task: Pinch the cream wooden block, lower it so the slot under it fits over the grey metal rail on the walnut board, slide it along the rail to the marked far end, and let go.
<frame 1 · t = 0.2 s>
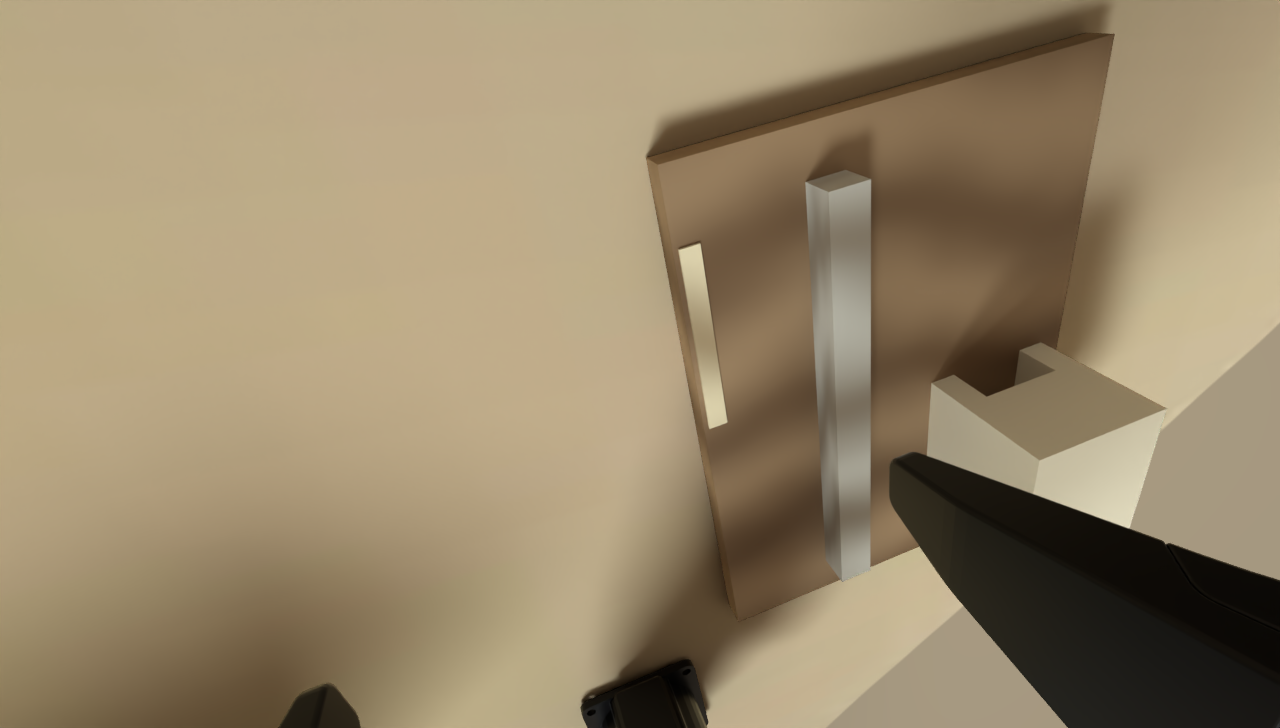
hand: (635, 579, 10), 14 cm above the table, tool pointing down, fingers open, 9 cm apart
notched block: (979, 428, 32), point 1 cm above the table, touching cleat board
cleat board: (877, 366, 29), on the table
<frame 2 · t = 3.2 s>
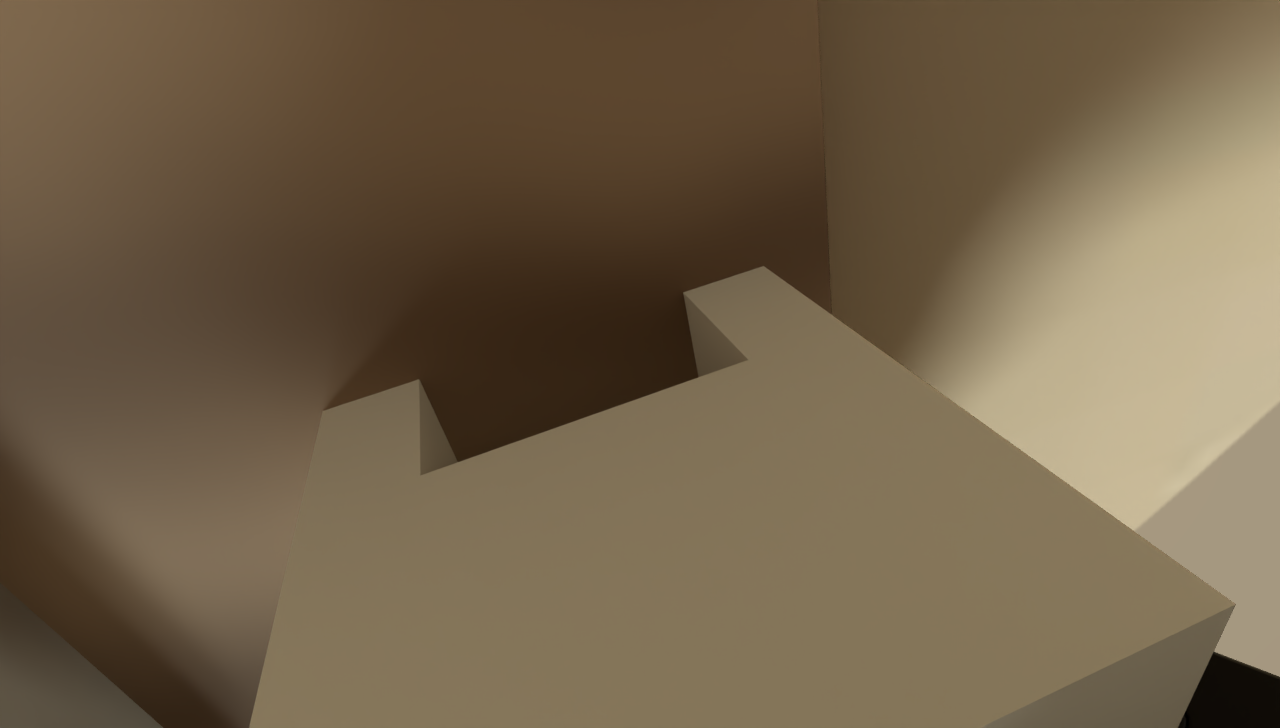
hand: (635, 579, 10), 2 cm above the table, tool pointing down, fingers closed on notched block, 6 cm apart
notched block: (621, 542, 10), point 1 cm above the table, touching cleat board, gripper
cleat board: (137, 351, 8), on the table
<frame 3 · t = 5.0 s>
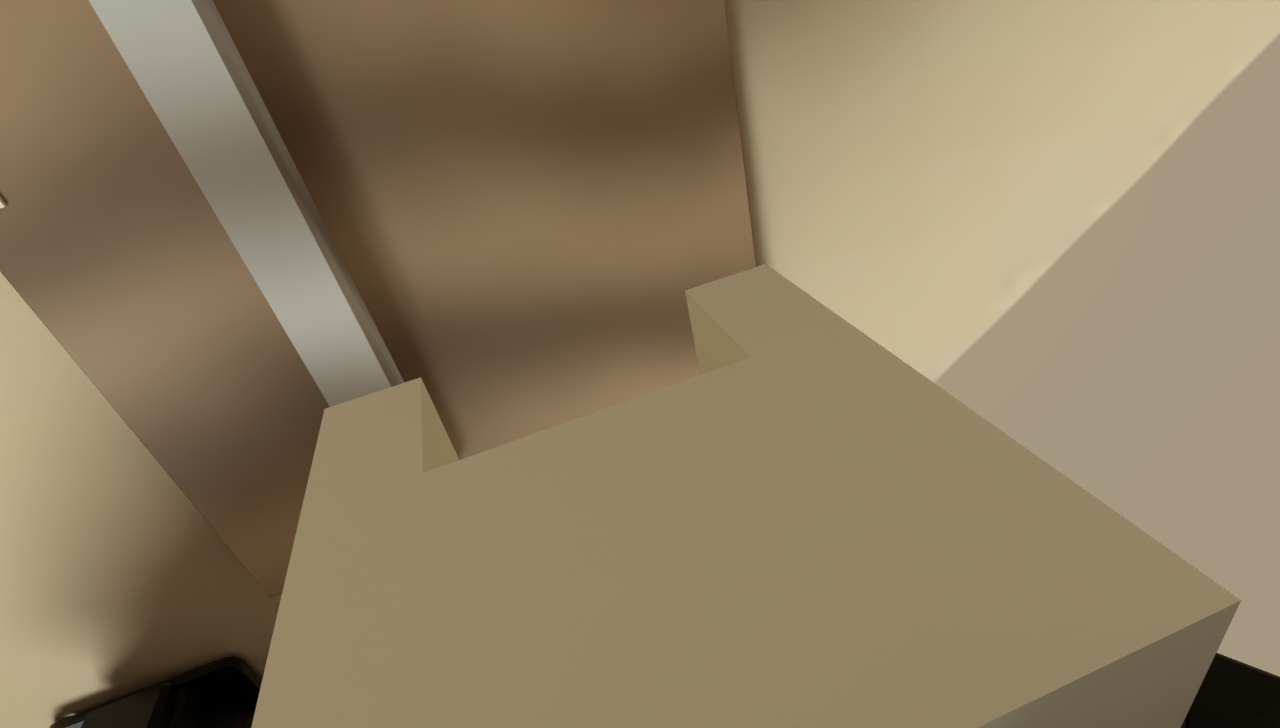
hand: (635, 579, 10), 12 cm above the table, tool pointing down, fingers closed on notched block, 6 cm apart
notched block: (622, 541, 10), point 11 cm above the table, touching gripper
cleat board: (393, 140, 16), on the table
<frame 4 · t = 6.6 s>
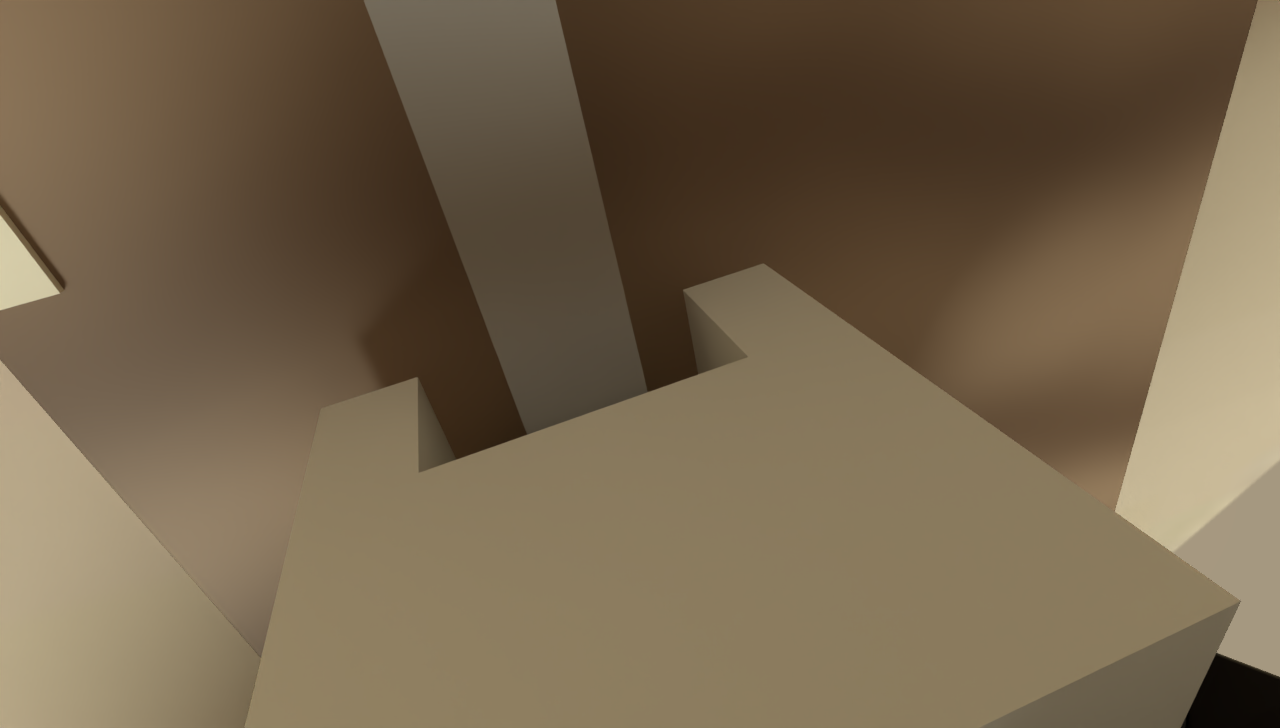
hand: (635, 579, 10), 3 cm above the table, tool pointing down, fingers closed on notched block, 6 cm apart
notched block: (620, 541, 10), point 2 cm above the table, touching gripper
cleat board: (704, 162, 10), on the table
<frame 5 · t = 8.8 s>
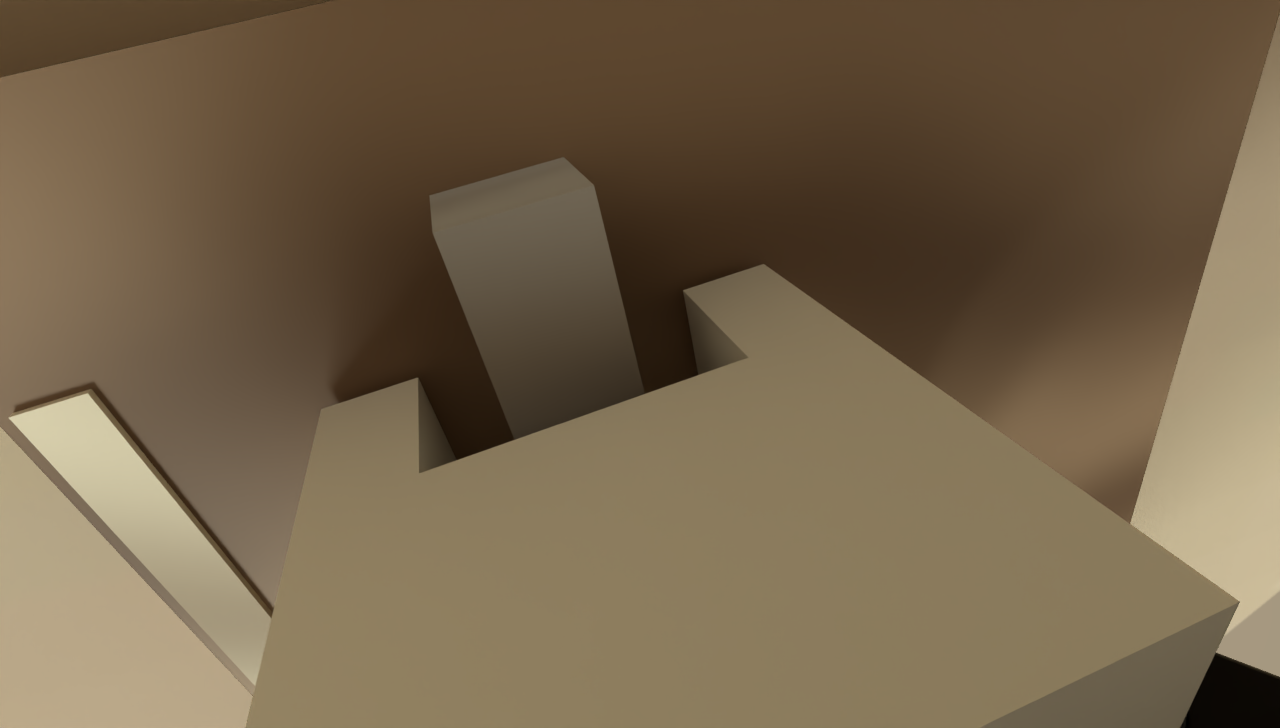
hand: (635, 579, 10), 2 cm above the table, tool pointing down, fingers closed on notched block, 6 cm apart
notched block: (620, 541, 10), point 1 cm above the table, touching gripper
cleat board: (766, 571, 14), on the table
when the fingers open (2 cm above the table, at t = 10.1 s): notched block stays where it is, resting on cleat board.
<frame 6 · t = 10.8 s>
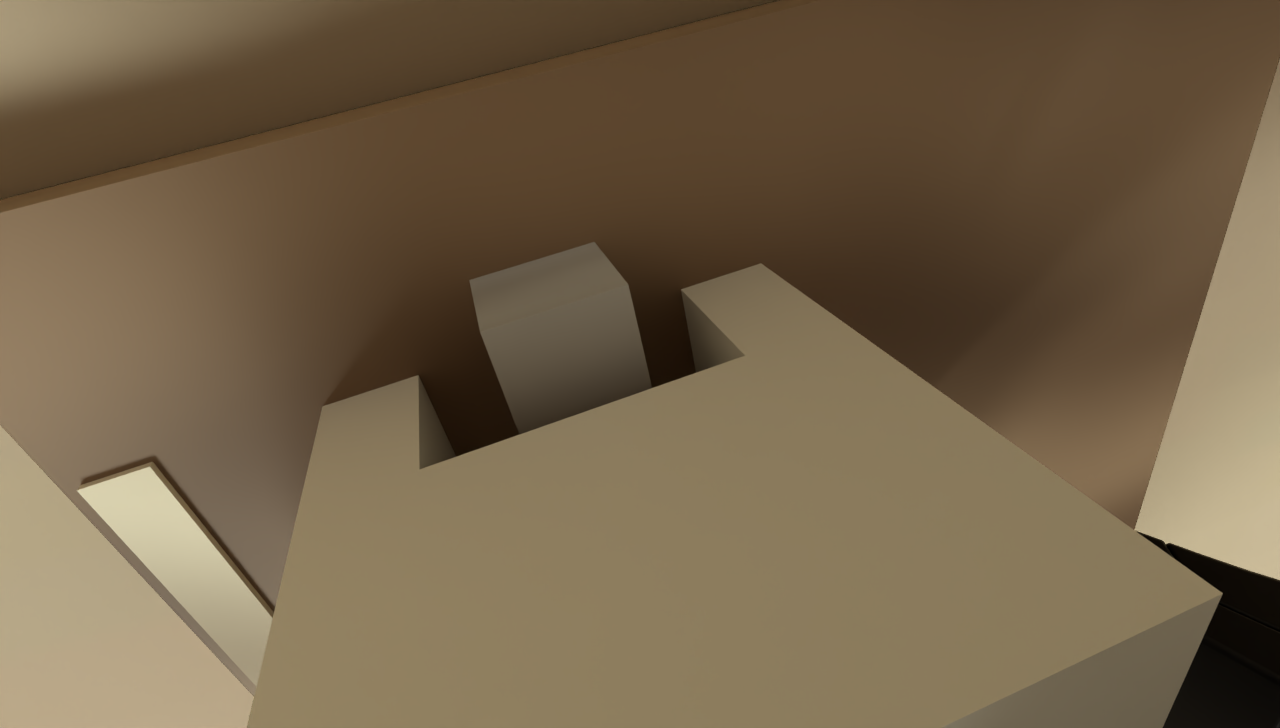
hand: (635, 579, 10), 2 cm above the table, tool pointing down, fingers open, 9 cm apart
notched block: (619, 539, 10), point 1 cm above the table, touching cleat board
cleat board: (774, 604, 15), on the table
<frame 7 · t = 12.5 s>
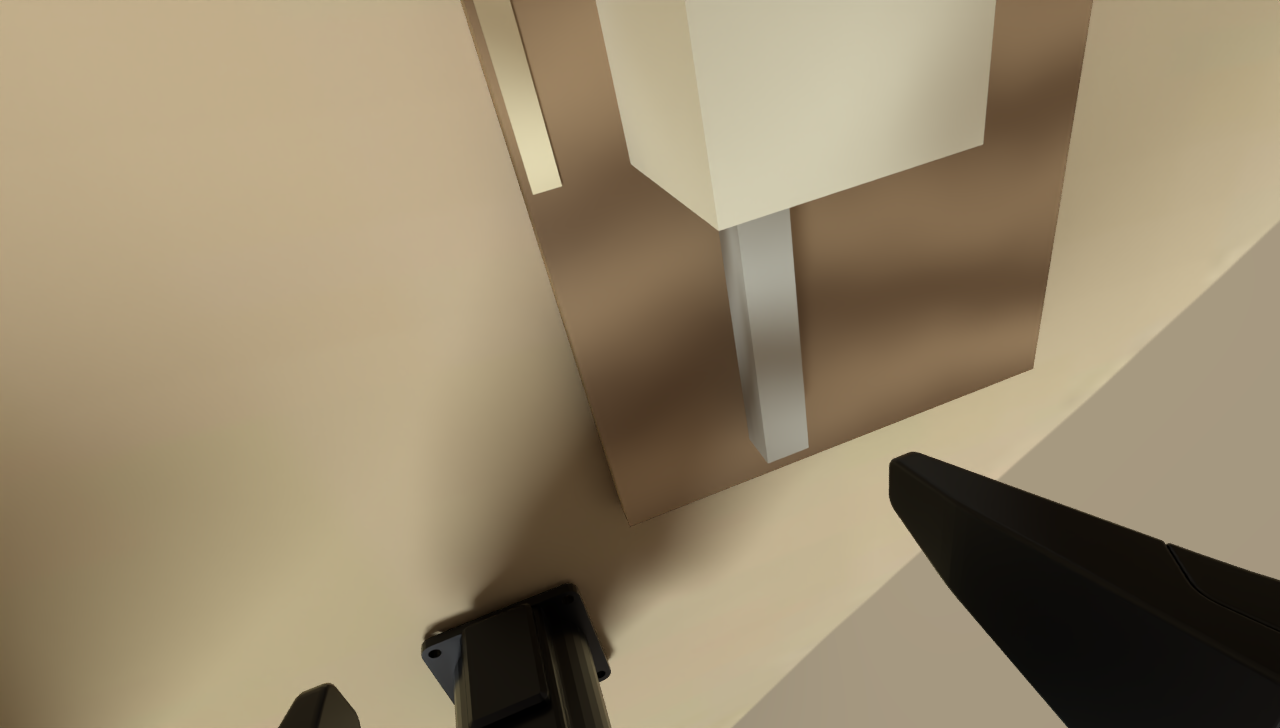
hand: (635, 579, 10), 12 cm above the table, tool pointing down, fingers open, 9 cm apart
cleat board: (807, 132, 20), on the table
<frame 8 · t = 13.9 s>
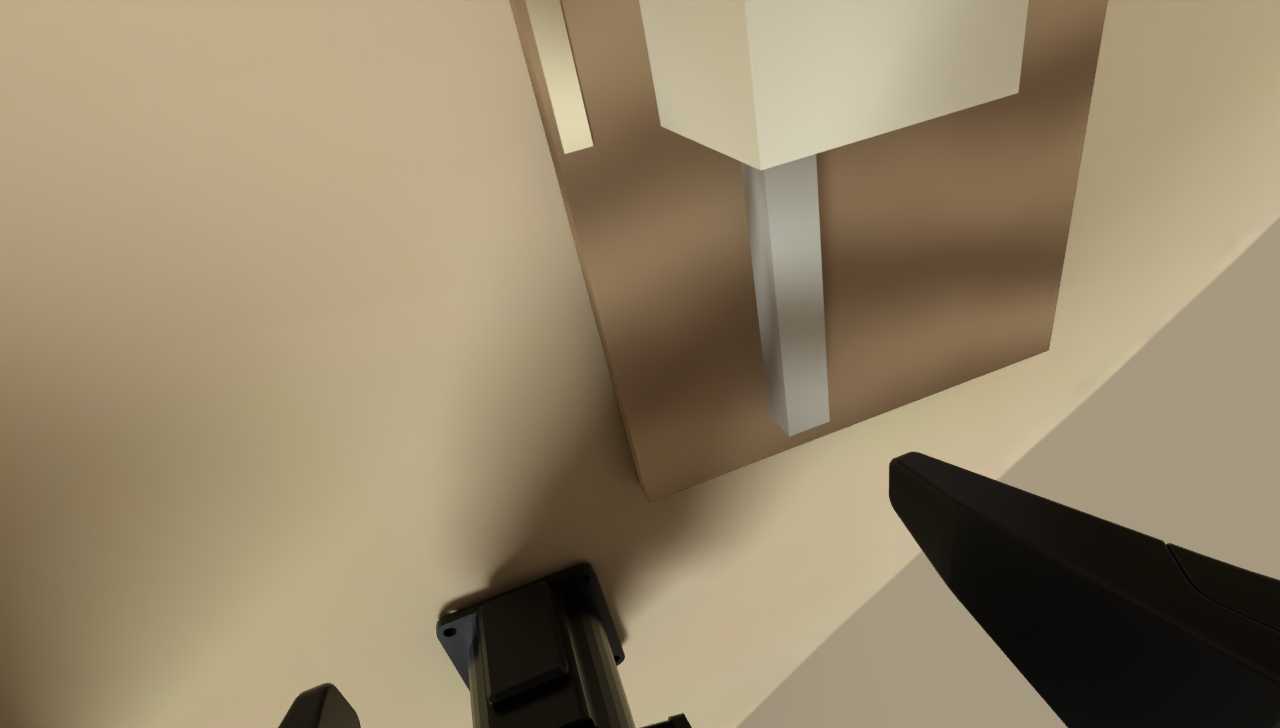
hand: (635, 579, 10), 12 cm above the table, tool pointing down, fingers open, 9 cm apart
cleat board: (832, 103, 20), on the table
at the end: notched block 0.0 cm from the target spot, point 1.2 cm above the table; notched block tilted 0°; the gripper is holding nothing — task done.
